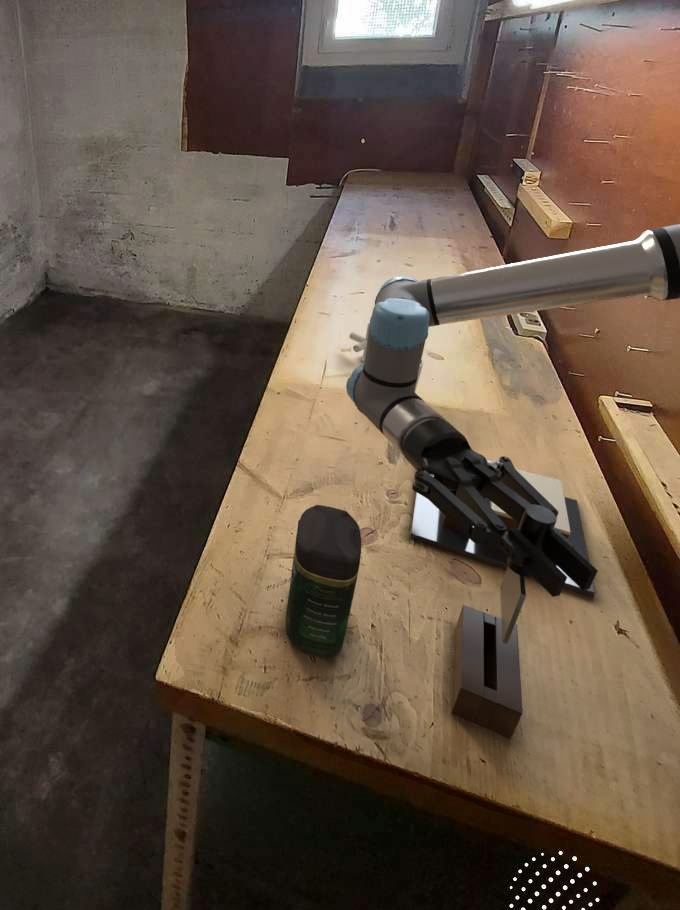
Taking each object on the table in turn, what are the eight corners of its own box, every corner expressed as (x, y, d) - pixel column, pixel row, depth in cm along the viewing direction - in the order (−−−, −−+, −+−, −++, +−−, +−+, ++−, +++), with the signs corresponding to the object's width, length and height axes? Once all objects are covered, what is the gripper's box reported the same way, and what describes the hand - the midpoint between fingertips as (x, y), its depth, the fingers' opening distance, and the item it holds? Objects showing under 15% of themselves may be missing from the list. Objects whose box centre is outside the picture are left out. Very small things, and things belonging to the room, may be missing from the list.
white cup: (380, 388, 128) (387, 350, 124) (411, 391, 127) (419, 352, 123) (385, 405, 123) (392, 366, 118) (418, 407, 121) (426, 368, 117)
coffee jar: (344, 667, 72) (365, 566, 64) (281, 649, 75) (293, 550, 66) (345, 602, 80) (364, 506, 72) (289, 588, 83) (300, 493, 74)
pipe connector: (396, 362, 138) (403, 326, 134) (371, 375, 133) (377, 338, 129) (361, 346, 146) (366, 312, 141) (336, 358, 141) (341, 323, 137)
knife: (489, 583, 70) (522, 485, 63) (515, 592, 69) (552, 493, 62) (490, 638, 64) (527, 536, 57) (519, 648, 62) (561, 545, 55)
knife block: (455, 629, 76) (463, 604, 74) (507, 648, 73) (517, 623, 71) (451, 713, 67) (460, 687, 65) (511, 739, 64) (522, 713, 62)
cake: (550, 508, 93) (561, 480, 91) (558, 561, 84) (570, 532, 81) (482, 489, 98) (490, 462, 95) (482, 537, 88) (491, 509, 86)
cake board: (575, 504, 95) (576, 500, 95) (593, 597, 80) (595, 593, 79) (420, 462, 106) (421, 458, 105) (409, 538, 90) (410, 533, 90)
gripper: (471, 451, 80) (629, 594, 59) (368, 469, 77) (495, 624, 56) (483, 408, 76) (656, 542, 55) (376, 425, 74) (514, 572, 53)
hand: (574, 583), depth 56 cm, fingers closed on knife, 3 cm apart
